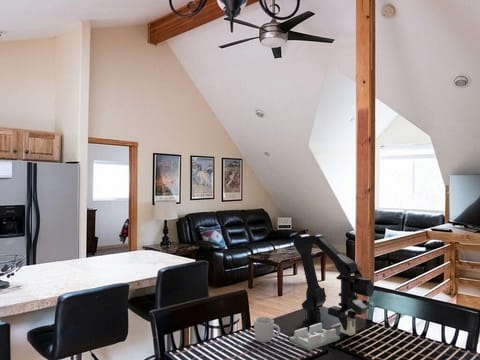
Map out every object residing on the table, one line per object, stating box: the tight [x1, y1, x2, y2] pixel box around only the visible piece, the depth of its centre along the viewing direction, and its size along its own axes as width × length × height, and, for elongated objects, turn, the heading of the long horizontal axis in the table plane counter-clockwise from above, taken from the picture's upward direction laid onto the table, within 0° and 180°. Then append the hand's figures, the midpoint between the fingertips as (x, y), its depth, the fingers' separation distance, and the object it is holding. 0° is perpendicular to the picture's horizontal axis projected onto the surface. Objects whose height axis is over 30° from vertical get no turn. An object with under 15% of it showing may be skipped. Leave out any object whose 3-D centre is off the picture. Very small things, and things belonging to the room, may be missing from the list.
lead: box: [329, 322, 341, 329], centre depth 168 cm, size 8×1×1 cm, turn 126°
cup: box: [253, 316, 281, 343], centre depth 152 cm, size 11×8×8 cm
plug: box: [340, 317, 356, 337], centre depth 159 cm, size 6×3×6 cm, turn 36°
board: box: [289, 322, 341, 351], centre depth 153 cm, size 11×17×4 cm, turn 126°
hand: (347, 329), depth 159 cm, fingers closed on plug, 3 cm apart
